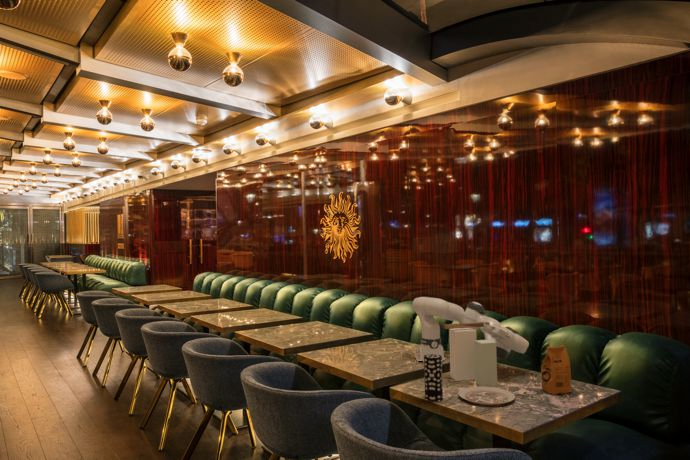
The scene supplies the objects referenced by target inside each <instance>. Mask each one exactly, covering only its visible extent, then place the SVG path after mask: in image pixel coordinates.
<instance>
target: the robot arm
mask: <svg viewBox="0 0 690 460" xmlns="http://www.w3.org/2000/svg"><path fill="white" fill-rule="evenodd" d="M411 305H412V306H411V307H412V310H413V312H415V314H416V315H417V317H418V319H419V322H420V327H421V340H420V344H419V345H418V347H417V349H415V353H416V354H414V355H413V357H414V356H415V357H414V359H415V358H416V359H415V360H417V361H423V362H422V363H424V355H428V354H437V355H441V356H442V361H443V360H444V361H446V360H447V358H446V357H445V355H444V354H445V353H444V347H443V345H442V339H441V327H440V324H439V323H438V322H437V321H436V319H435V317H436V318H440V319H443V320H446V321H452V322H453V321H454V322H457V323H458V324H461V323H477V322H489V325H488V324H486V323H483V326H484V327H471V329H474V330H476V333H477V331H478V329H480V331H481V332H482V333H483V335H484V340H491V341H493V342H496V356H497V360H498V359H499V360H501V361H502V360H505V359H507V358H508V357H509V354H510V353H511V350H513V351H514V352H517V353H519V354H525V353H526V352H527V350H528V348H529V346H530V343H529V341H528V340H527V339H525V338H524V337H523V336H521V335H520V333H519V332H518V331H517V330H515V329H513V328H512V327H510V326H502V325H501V323H500V321H498V320H497V319H495V318H493V317H491V316H490V317H489V316H486V314H487V312H486V310H485V308H484V306H483V305H482V304H481V303H479V302H477V301H470V302H469V303H468V304H467V305H466V308H465V309H464V308H463V307H461V306H460V305H458V304H456V303H452V302H449V301H447V300H444V299H442V298H439V297H438V298H437V297H430V296H419V297H415V298H414V299H413V301H412V304H411ZM445 359H446V360H445ZM417 361H416V362H417ZM444 361H443V362H444Z"/></svg>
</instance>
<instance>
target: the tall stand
mask: <svg viewBox="0 0 690 460" xmlns="http://www.w3.org/2000/svg"><path fill="white" fill-rule="evenodd" d="M448 333H449V335H448V336H449V338H448V339H449V374H450V378H451V379H453V381H456V382H460V381H461V382H462V381H473V380H475V381H476V379H475V343H474V340H477V339H478V338H477V332H476V330H474V329H471V328H455V329H448Z"/></svg>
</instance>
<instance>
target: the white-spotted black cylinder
mask: <svg viewBox="0 0 690 460" xmlns="http://www.w3.org/2000/svg"><path fill="white" fill-rule="evenodd" d="M423 368H424V369H423V372H424V373H423V374H424V375H423V376H424V380H423V381H424V400H425V401H428V402H434V403H437V402H442V401H443V400H444V388H443V387H444V386H443V383H444V382H443V362H442V356H441V355H437V354H428V355H424V362H423Z"/></svg>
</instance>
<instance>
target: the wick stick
mask: <svg viewBox="0 0 690 460" xmlns="http://www.w3.org/2000/svg"><path fill="white" fill-rule="evenodd" d="M483 323H486V324H488V325H489V322H477V323H461V324H459V323H447V324H444V323H443V329H445V330H449V329H458V328H471V327H478V328H480V327H484V326H483Z"/></svg>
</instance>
